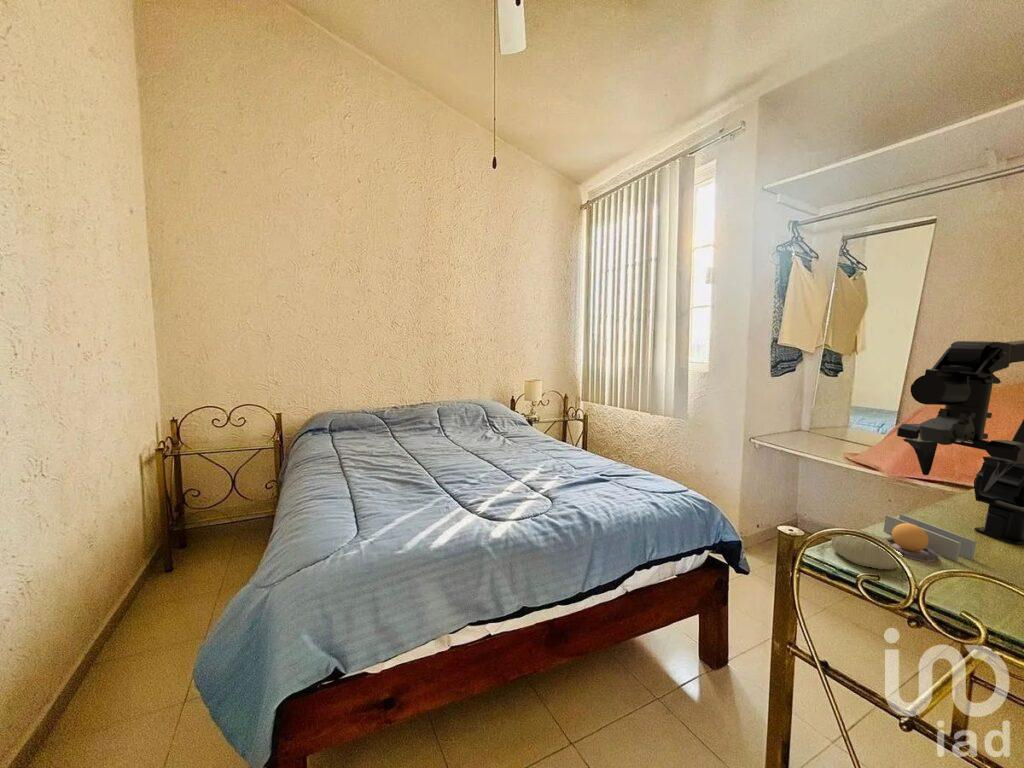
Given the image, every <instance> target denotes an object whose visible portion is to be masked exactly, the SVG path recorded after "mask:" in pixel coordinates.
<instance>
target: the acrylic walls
mask: <svg viewBox="0 0 1024 768" xmlns="http://www.w3.org/2000/svg"><path fill="white" fill-rule="evenodd" d="M903 523H909V524H914V525H916V526H918V527H920V528H921V529H922V530H924V532H925V533H926V534H927V536H928V545H927V546H926V547H928V548H930V549H931V550H933V551H934V552H935V553H936V555H940V556H942V557H944V558H947V559H949V560H951V561H954V562H958V561H959V557H960V556H961V557H964V558H966V559H969V560H973V561H974V560H975V559H974V558H975V553H976V548H977V542H978V541H977V540H973V539H971V538H968V537H966V536H963V535H961V534H958V533H955V532H953V531H949V530H947V529H944V528H941V527H939V526H936V525H935V524H931V523H928V522H925V521H923V520H920V519H917V518H915V517H913V516H909V515H907V514H904V513H900V514H899V518H897V517H894V516H892V515H889V514H885V518H884V524H883V532H884V533H887V534H890V535H892V531H893V529H894V527H895V526H897V525H899V524H903Z"/></svg>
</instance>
